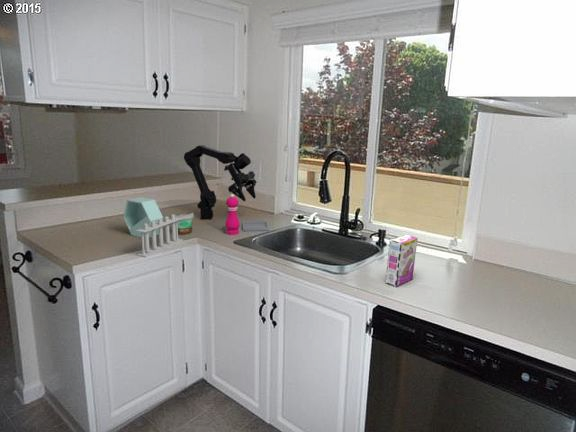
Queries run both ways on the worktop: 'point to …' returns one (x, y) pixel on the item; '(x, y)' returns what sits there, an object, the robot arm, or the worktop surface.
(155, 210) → the planter
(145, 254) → the test tube rack
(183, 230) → the food container
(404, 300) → the worktop surface
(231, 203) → the pink bowling pin
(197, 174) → the robot arm
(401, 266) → the candy bar box
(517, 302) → the worktop surface
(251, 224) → the slate tray
